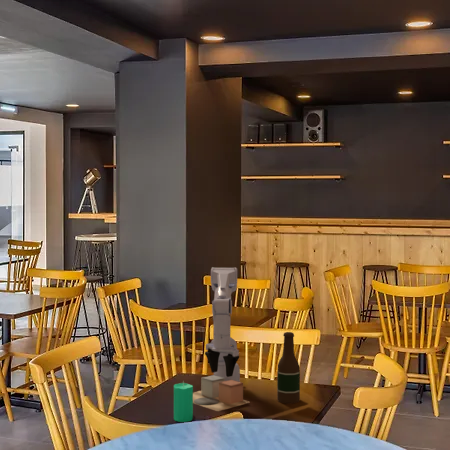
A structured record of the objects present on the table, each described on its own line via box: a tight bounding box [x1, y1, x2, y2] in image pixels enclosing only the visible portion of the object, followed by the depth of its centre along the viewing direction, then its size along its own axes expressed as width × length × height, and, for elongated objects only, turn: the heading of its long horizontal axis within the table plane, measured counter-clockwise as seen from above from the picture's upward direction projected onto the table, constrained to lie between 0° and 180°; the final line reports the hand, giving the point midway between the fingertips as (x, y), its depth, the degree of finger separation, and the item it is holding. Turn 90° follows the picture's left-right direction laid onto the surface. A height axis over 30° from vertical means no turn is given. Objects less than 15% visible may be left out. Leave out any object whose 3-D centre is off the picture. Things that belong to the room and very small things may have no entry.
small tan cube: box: [219, 380, 244, 404], centre depth 232 cm, size 6×6×6 cm
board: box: [193, 390, 251, 412], centre depth 233 cm, size 15×22×1 cm
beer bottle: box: [276, 331, 301, 404], centre depth 232 cm, size 8×8×24 cm
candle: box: [173, 380, 194, 423], centre depth 215 cm, size 6×6×12 cm
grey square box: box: [200, 374, 225, 398], centre depth 239 cm, size 6×6×6 cm
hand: (221, 374), depth 232 cm, fingers open, 7 cm apart
